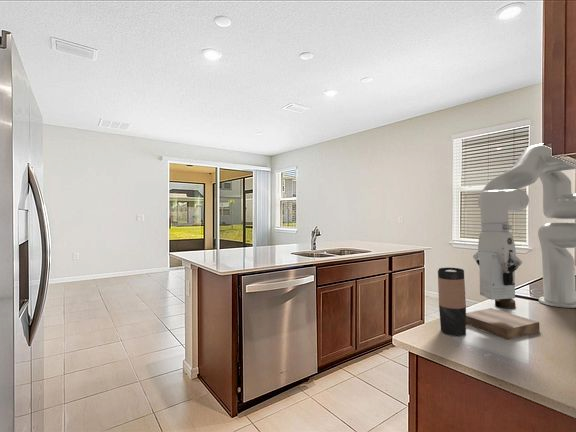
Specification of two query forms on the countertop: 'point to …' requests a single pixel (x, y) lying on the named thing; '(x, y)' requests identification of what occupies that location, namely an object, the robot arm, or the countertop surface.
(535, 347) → the countertop surface
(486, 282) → the skincare box
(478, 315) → the walnut base board
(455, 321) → the travel mug
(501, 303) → the wooden pepper mill
